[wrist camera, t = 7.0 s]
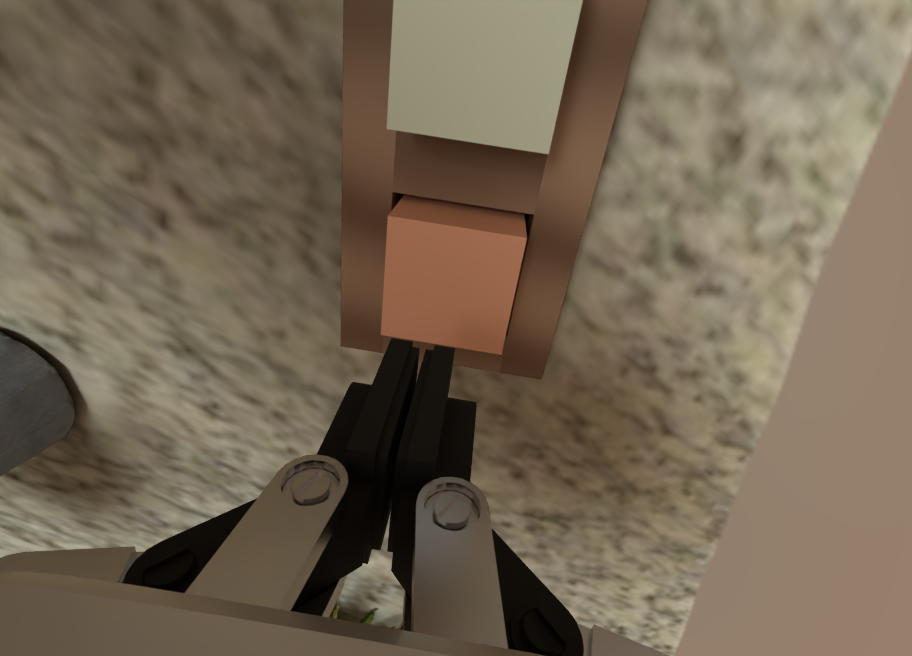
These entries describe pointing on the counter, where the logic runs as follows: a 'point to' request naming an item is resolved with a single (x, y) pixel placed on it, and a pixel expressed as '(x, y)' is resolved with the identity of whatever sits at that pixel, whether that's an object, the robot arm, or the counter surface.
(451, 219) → the terracotta button
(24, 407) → the moka pot
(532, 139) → the sage button
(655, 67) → the counter surface
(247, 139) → the counter surface
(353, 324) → the walnut panel
